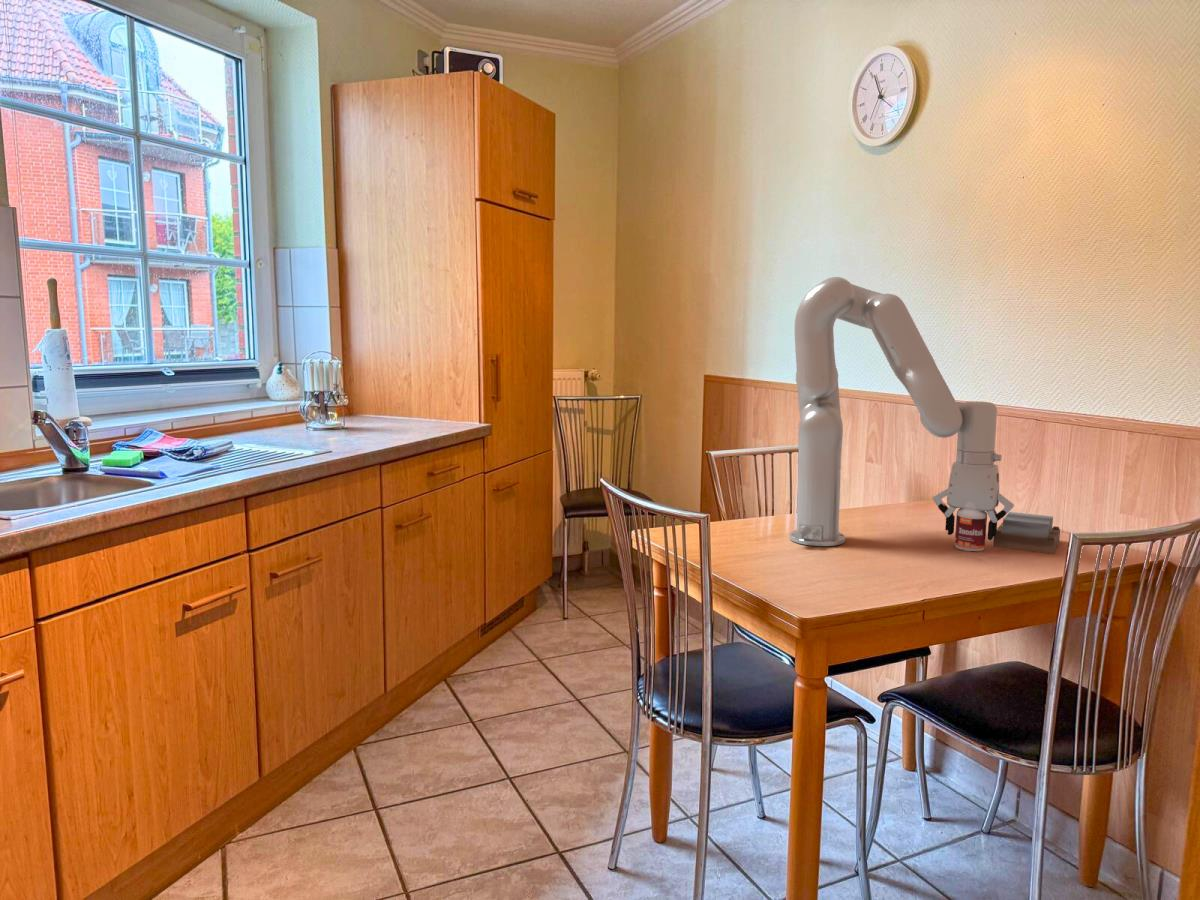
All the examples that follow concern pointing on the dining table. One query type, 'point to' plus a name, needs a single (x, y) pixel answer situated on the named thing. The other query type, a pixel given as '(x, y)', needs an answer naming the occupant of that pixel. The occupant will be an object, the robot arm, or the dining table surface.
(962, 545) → the pill bottle
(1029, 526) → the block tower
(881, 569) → the dining table surface
